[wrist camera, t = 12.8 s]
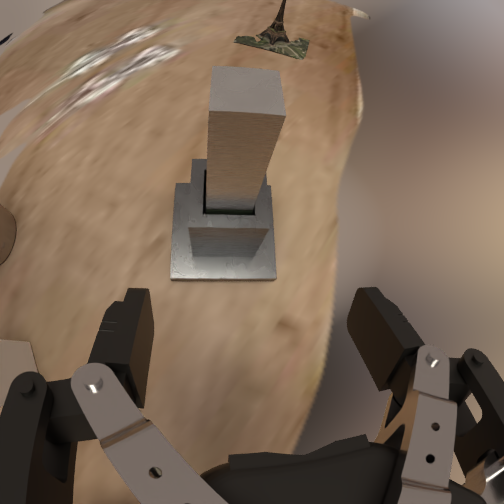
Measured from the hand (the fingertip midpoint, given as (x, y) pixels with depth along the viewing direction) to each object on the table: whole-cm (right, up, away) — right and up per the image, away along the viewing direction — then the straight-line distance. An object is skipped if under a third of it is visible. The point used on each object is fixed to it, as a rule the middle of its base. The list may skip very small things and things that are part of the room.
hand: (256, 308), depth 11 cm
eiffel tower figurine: (+4, +46, +40) cm, 62 cm away
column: (-3, +6, +19) cm, 20 cm away
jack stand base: (-4, +4, +25) cm, 26 cm away
